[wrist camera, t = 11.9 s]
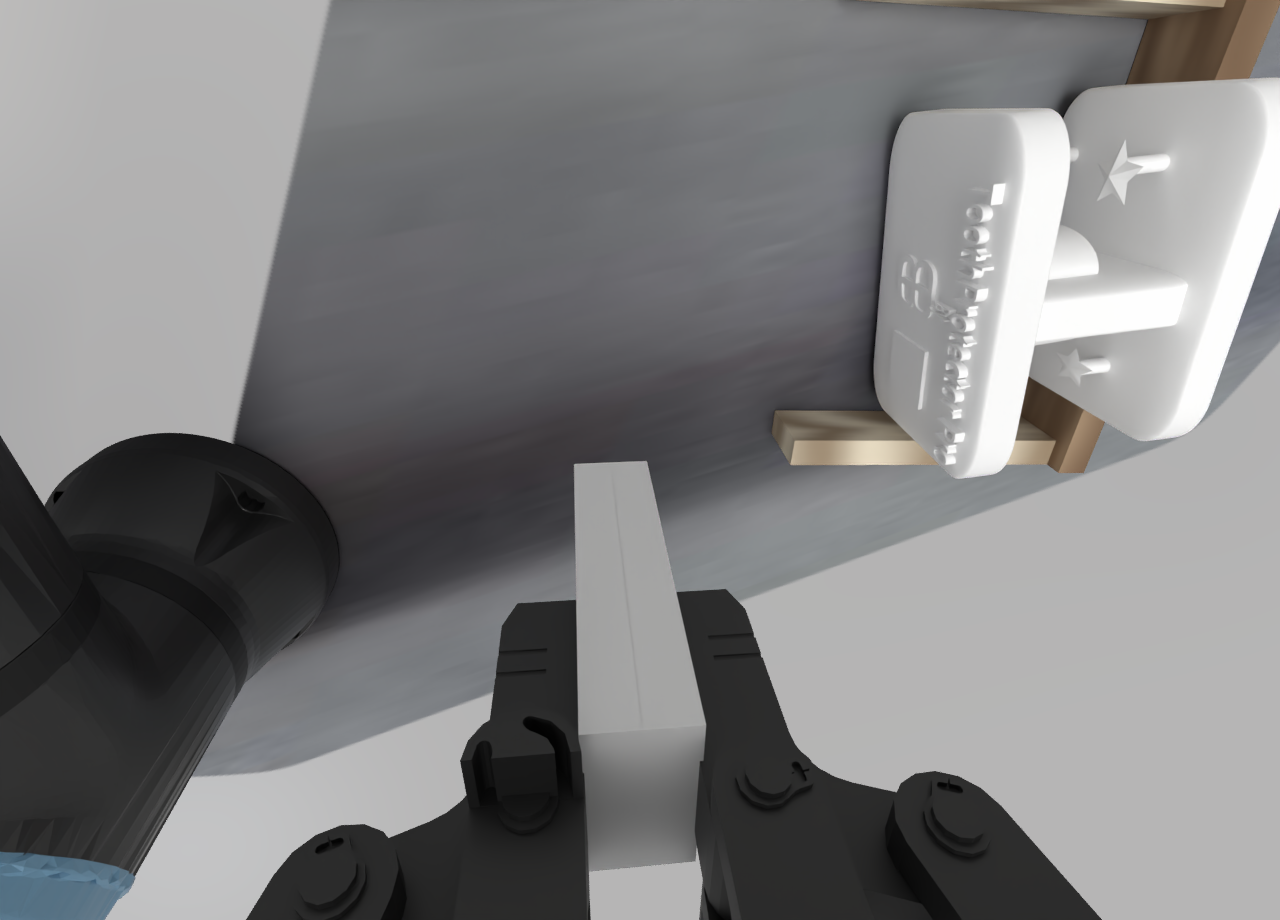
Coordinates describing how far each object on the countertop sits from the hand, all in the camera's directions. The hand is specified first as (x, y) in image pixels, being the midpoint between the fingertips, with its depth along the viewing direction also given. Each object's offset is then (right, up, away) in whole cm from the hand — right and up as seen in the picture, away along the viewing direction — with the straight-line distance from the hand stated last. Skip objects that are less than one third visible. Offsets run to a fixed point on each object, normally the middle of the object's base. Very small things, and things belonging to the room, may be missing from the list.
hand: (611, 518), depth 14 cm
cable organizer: (+18, +12, +21) cm, 30 cm away
